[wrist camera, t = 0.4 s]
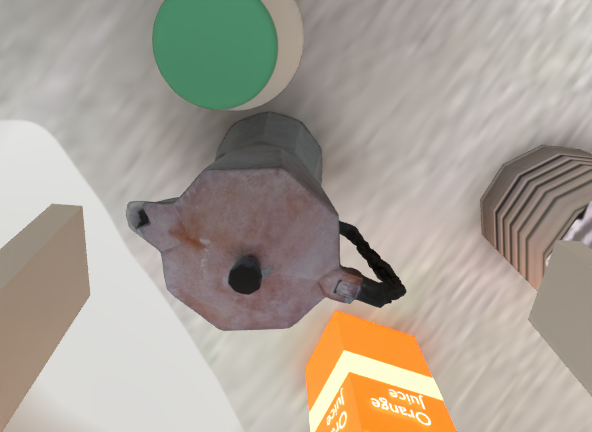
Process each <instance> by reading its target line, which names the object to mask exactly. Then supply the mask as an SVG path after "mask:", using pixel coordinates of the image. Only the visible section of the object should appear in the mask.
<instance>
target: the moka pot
mask: <svg viewBox="0 0 592 432" xmlns="http://www.w3.org/2000/svg"><path fill="white" fill-rule="evenodd" d="M321 181H322V151H321V148H320V146H319V145H318V143H317V142H316V140H315V139H314V137H313V136H312V135H311V133H310V132H309V131H308V129H307V128H306V127H305V126H304V124H303V123H302V122H300V121H298V120H296V119H293V118H290V117H286V116H283V115H279V114H276V113H271V112H266V113H262V114H257V115H254V116H252V117H248V118H246V119H243V120H241V121H239V122H237V123H235V124H234V126H233V127H232V128H231V130H230V131H229V132H228V134H227V135H226V137H225V139H224V140H223V142H222V144H221V145H220V147H219V149H218V151H217V154H216V159H215V162H214V163H213V164H211V165H210V166H209V167H207V168H206V169H204V170H203V171H202V172H201V173H200V174H199V175H198V176H197V178H196V179H195V180H194V181H193V183H192V184H191V185H190V186H189V187H188V188H187V190H186V191H185V192H184V193H183V194H182V195H181V196H180V197H177V198H172V199H167V200H162V201H158V202H146V201H133V202H129V203H128V205H127V211H126V217H127V221H128V225H129V227H130V228H131V230H132V231H134V232H135V233H137V234H138V235H139V236H140V237H142V238H143V239H144V240H146V241H147V242H148V243H150V244H151V245H152V246H154V247H155V248H156V249H158V250H159V251H160V253H161V257H162V262H163V271H164V278H165V282H166V287H167V290H168V291H169V292H170V293H171V294H172V295H173V296H174V297H176V298H177V299H179V300H180V301H181V302H183V303H184V304H185V305H187V306H188V307H190V308H191V309H192V310H194V311H195V312H197V313H198V314H199V315H201V316H202V317H203V318H204V319H206V320H207V321H208V322H210V323H211V324H213V325H214V326H215V327H217V328H218V329H220V330H223V331H230V330H263V329H285V328H290V327H291V326H293V325H294V324H296V323H297V322H298V321H299V320H300V319H301V318H302V317H303V316H304V315H306V314H307V313H308V312H309V311H310V310H311V309H312V308H313V307H314V306H315V305H317V304H318V303H319V302H320V301H321V300H323V299H324V298H326V297H328V298H330V299H332V300H335V301H339V302H343V303H348V304H350V303H351V302H352V301H353V300H354V299H355V300H359V301H362V302H364V303H367V304H370V305H372V306H376V307H379V308H381V307H382V306H384V305H385V304H387V303H391V302H392V301H391V300H397V299H399V298H400V297H402V296H404V295H405V293H406V289H405V286H404V285H403V284H402V283H401V280H399V277H397V276H396V274H395V273H394V271H393V269H392V268H391V266H390V265H389V264H388V263H386V262H385V261H383V260H382V259H381V257H380V256H379V255H378V254H377V253H376V252H375V251H374V250H373V249H371V248H370V246H369V244H368V242H366V241H365V240H364V239H363V237H362V235H361V234H360V233H359V231H358V229H357V228H356V227H355V226H353V225H351V224H348V223H344V222H341V221H339V217H338V213H337V211H336V210H335V208H334V206H333V205H332V203H331V201H330V200H329V198H328V197H327V195H326V194H325V192H324V191H323V189H322V187H321ZM339 234H341V235H343V236H345V237H346V238H347V239H348V240H350V241H351V242H352V243H353V244H354V245H356V246H357V250H358V252H359V253H360V254H361V255H362V257H363V258H364V259H366V260H367V262H368V265H369V267H370V268H372V269H373V271H374V273H375V274H376V276H377V278H378V279H380V280H381V281H382V282H380V283H378V282H376V281H374V280H372V279H369V278H367V277H365V276H364V275H362V274H361V272H359V271H358V270H356V269H354V268H347V267H343V266H341V265H340V235H339Z"/></svg>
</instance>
